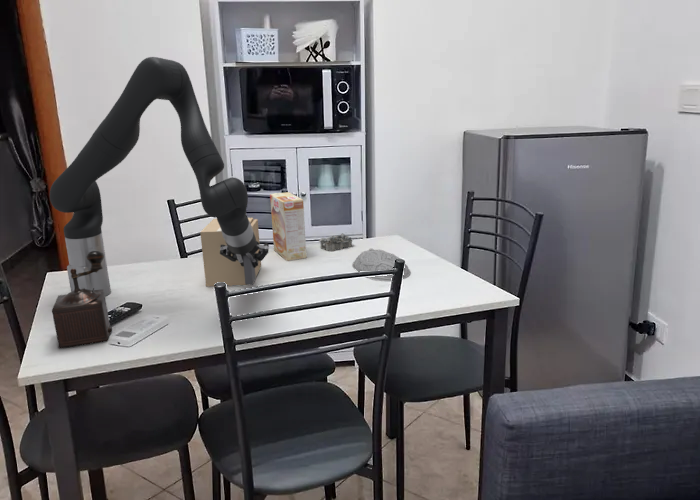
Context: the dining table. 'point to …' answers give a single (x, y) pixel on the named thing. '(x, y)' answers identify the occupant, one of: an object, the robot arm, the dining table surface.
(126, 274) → the dining table surface
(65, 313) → the manual coffee grinder
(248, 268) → the carton flap
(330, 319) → the dining table surface
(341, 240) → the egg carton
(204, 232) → the carton
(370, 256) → the grey oval domed piece
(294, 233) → the coffeecake box
